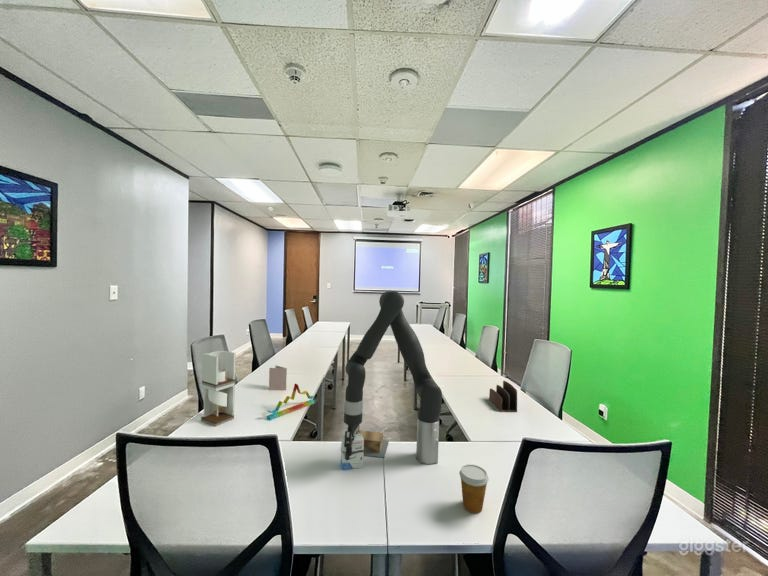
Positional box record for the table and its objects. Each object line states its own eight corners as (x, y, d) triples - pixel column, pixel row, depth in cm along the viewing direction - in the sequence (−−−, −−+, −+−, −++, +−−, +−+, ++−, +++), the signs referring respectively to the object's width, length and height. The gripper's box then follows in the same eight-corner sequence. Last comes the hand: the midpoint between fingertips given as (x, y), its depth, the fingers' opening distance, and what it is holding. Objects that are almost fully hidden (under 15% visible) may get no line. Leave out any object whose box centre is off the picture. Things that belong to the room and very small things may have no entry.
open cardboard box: (382, 443, 144) (382, 432, 144) (379, 452, 136) (379, 441, 136) (359, 440, 146) (359, 430, 145) (355, 449, 138) (355, 438, 138)
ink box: (342, 470, 123) (343, 441, 123) (340, 463, 128) (341, 435, 128) (363, 467, 125) (364, 438, 125) (361, 460, 130) (361, 432, 130)
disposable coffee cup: (481, 497, 110) (482, 463, 110) (491, 517, 101) (493, 480, 101) (455, 496, 110) (456, 463, 110) (462, 517, 100) (464, 480, 100)
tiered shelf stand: (201, 421, 161) (202, 353, 160) (220, 413, 170) (221, 350, 170) (215, 426, 155) (216, 357, 155) (234, 418, 165) (235, 353, 164)
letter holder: (503, 400, 205) (504, 378, 205) (517, 412, 186) (518, 389, 185) (488, 399, 205) (489, 378, 205) (500, 412, 185) (501, 388, 185)
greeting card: (287, 390, 210) (287, 367, 210) (278, 393, 204) (278, 370, 204) (275, 386, 216) (276, 365, 216) (266, 389, 210) (267, 367, 210)
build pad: (388, 441, 146) (388, 440, 146) (384, 458, 132) (384, 457, 132) (355, 437, 149) (355, 437, 149) (347, 453, 135) (347, 452, 135)
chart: (270, 421, 164) (271, 392, 164) (266, 419, 166) (267, 391, 166) (314, 404, 189) (315, 379, 188) (311, 402, 191) (311, 378, 190)
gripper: (358, 419, 119) (356, 461, 119) (366, 404, 133) (364, 442, 133) (339, 416, 120) (337, 458, 120) (349, 402, 134) (347, 440, 134)
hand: (351, 449), depth 126 cm, fingers open, 8 cm apart
